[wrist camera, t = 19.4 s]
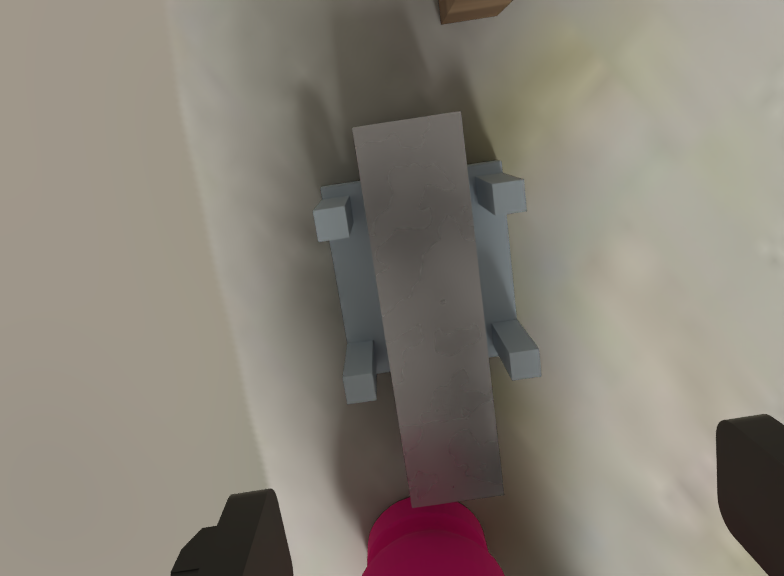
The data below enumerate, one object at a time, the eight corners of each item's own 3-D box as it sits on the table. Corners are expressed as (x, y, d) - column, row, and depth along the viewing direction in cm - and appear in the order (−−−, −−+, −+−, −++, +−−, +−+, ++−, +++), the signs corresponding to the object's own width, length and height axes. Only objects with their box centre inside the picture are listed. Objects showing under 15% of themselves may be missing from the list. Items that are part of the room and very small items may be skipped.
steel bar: (487, 447, 30) (504, 494, 26) (407, 459, 30) (411, 508, 26) (448, 114, 26) (460, 110, 22) (355, 127, 26) (352, 127, 22)
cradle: (515, 345, 29) (542, 387, 25) (353, 369, 30) (349, 415, 25) (497, 159, 27) (522, 165, 22) (322, 186, 27) (310, 197, 22)
